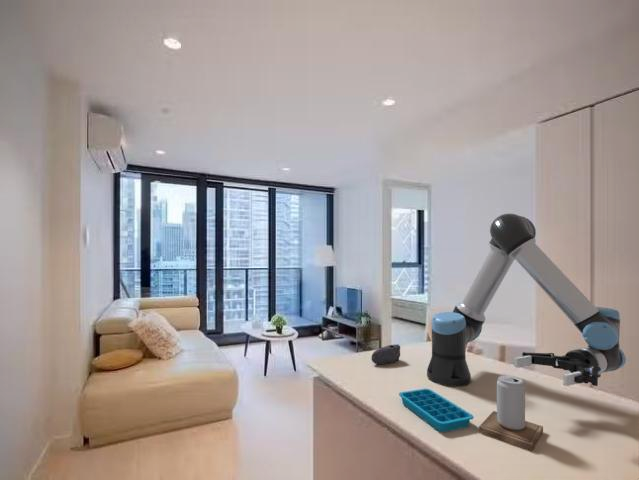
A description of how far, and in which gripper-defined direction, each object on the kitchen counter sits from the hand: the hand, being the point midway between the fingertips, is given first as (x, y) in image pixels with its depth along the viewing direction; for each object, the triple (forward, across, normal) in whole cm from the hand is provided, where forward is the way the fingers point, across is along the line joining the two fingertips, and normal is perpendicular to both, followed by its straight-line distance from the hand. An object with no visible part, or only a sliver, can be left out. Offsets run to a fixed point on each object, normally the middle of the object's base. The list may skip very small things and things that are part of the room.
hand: (538, 371), depth 94 cm
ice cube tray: (+23, +16, -15) cm, 31 cm away
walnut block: (+11, 0, -14) cm, 18 cm away
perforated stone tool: (+9, +58, -16) cm, 61 cm away
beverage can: (+11, 0, -13) cm, 17 cm away
